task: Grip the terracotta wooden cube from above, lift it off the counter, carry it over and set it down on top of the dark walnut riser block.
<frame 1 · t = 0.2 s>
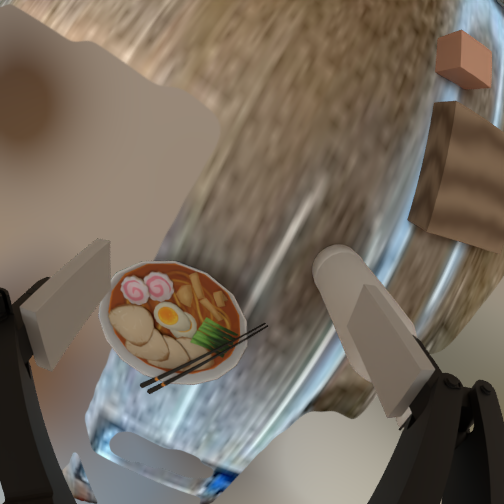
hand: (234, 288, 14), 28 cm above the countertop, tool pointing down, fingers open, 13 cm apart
walnut riser: (464, 178, 39), on the countertop
teacup: (500, 1, 23), on the countertop
terracotta cube: (451, 63, 32), on the countertop
bottle: (335, 266, 45), on the countertop
ramen bowl: (179, 304, 47), on the countertop
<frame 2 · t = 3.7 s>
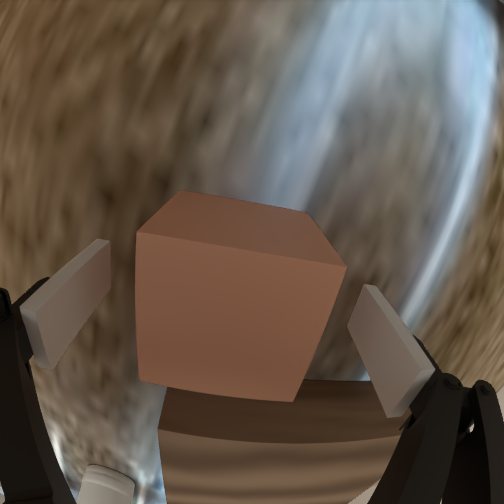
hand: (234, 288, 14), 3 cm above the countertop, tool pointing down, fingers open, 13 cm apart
walnut riser: (273, 442, 25), on the countertop
terracotta cube: (233, 259, 17), on the countertop
bottle: (111, 474, 30), on the countertop
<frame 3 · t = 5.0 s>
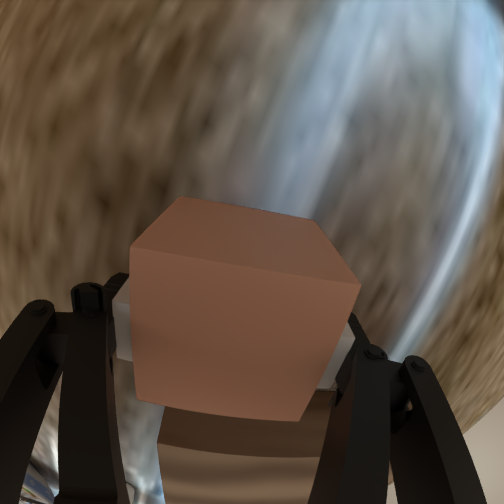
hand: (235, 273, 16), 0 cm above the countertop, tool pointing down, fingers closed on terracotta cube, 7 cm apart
walnut riser: (276, 451, 24), on the countertop
terracotta cube: (235, 269, 16), on the countertop, touching gripper
ramen bowl: (19, 456, 32), on the countertop
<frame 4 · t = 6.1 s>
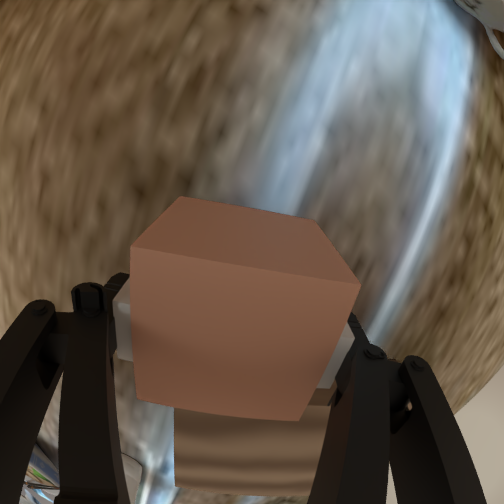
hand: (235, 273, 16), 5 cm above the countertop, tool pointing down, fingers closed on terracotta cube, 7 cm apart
walnut riser: (275, 419, 28), on the countertop
teacup: (464, 0, 13), on the countertop
terracotta cube: (236, 269, 16), point 5 cm above the countertop, touching gripper
bottle: (119, 459, 34), on the countertop
ramen bowl: (28, 442, 36), on the countertop
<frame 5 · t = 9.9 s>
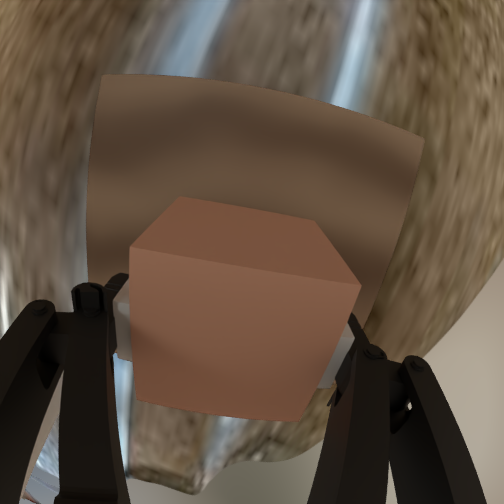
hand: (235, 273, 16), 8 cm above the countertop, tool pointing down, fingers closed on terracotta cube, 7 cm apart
walnut riser: (238, 227, 23), on the countertop
terracotta cube: (235, 269, 16), point 8 cm above the countertop, touching gripper
bottle: (56, 354, 29), on the countertop
when the fingers open (8 cm above the countertop, at t = 10.6 s): terracotta cube drops 2 cm, resting on walnut riser.
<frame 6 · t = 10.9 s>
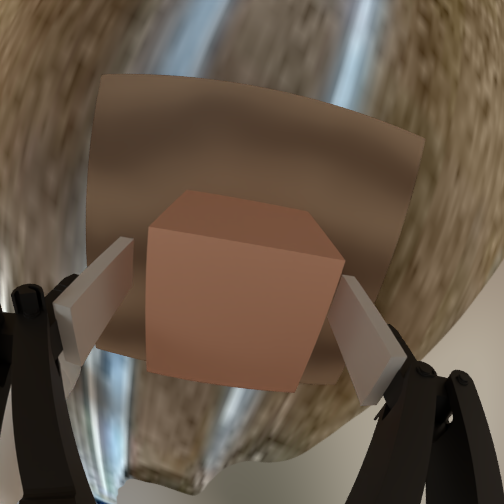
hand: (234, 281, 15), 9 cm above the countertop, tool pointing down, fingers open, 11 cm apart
walnut riser: (238, 227, 23), on the countertop
terracotta cube: (237, 256, 18), point 6 cm above the countertop, touching walnut riser
bottle: (56, 354, 29), on the countertop
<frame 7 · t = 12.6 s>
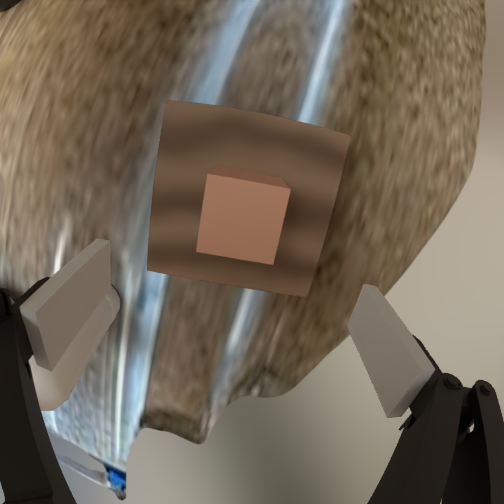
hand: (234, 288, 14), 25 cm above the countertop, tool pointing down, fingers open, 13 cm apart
walnut riser: (242, 193, 37), on the countertop
terracotta cube: (242, 203, 32), point 6 cm above the countertop, touching walnut riser
bottle: (100, 297, 43), on the countertop
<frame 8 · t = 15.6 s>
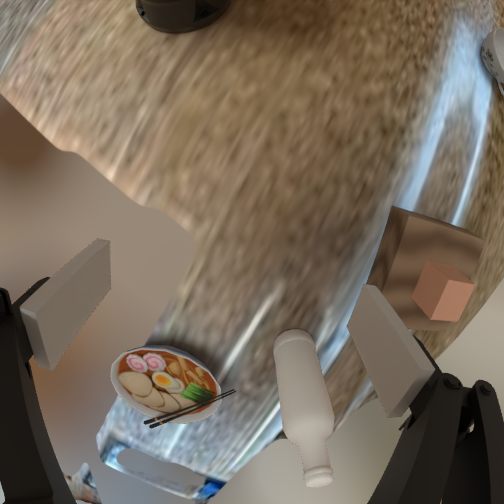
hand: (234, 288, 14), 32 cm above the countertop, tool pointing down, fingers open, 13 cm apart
walnut riser: (417, 267, 50), on the countertop
teacup: (489, 65, 34), on the countertop
terracotta cube: (433, 281, 44), point 6 cm above the countertop, touching walnut riser
bottle: (292, 343, 55), on the countertop
ramen bowl: (171, 366, 58), on the countertop
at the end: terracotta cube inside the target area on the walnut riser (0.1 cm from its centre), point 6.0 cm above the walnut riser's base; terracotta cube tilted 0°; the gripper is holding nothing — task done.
